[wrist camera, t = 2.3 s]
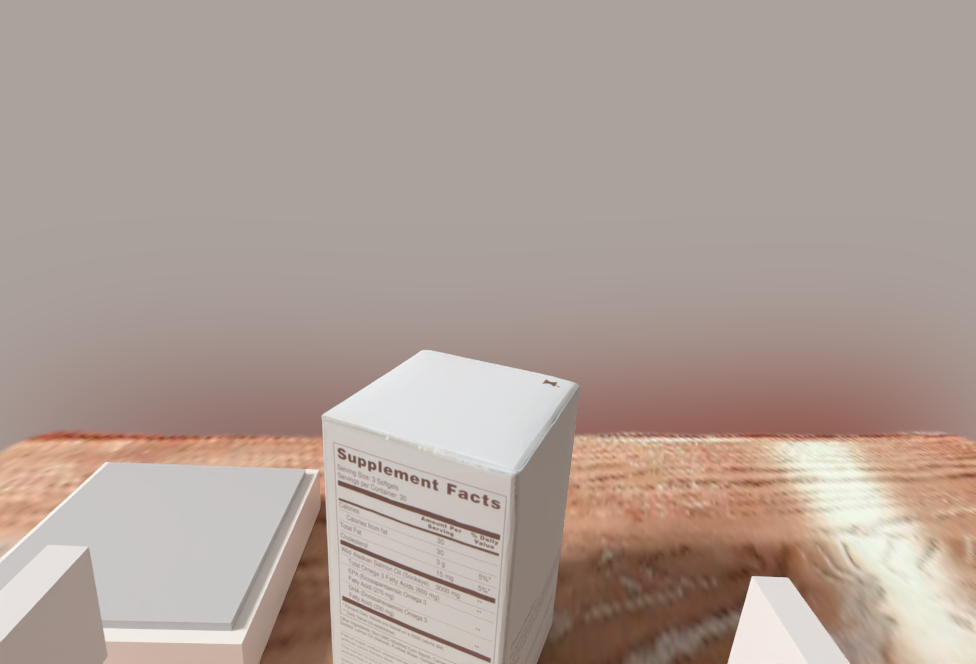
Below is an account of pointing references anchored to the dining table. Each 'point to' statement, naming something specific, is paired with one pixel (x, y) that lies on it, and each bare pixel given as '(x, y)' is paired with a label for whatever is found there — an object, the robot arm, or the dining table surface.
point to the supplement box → (447, 512)
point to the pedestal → (184, 555)
